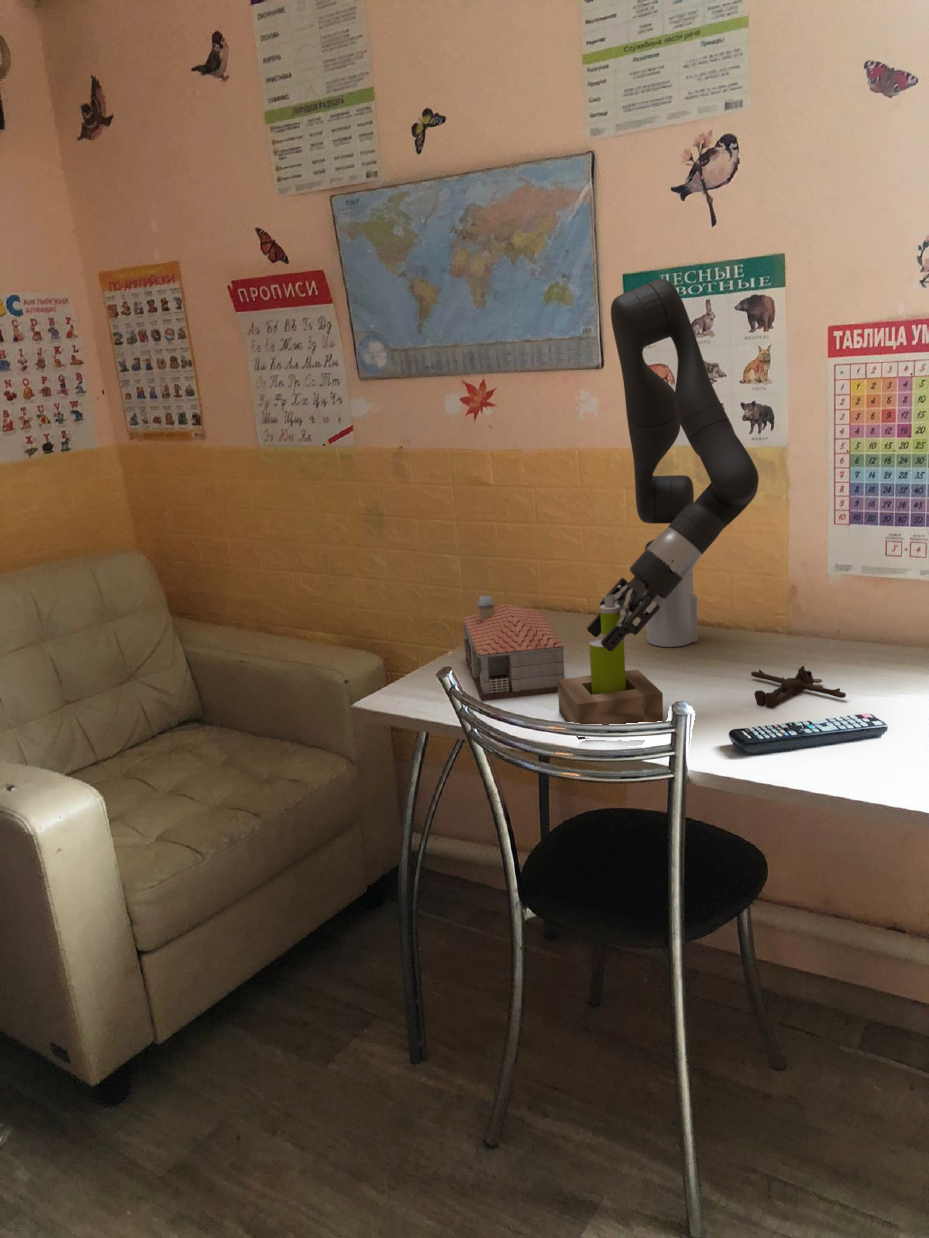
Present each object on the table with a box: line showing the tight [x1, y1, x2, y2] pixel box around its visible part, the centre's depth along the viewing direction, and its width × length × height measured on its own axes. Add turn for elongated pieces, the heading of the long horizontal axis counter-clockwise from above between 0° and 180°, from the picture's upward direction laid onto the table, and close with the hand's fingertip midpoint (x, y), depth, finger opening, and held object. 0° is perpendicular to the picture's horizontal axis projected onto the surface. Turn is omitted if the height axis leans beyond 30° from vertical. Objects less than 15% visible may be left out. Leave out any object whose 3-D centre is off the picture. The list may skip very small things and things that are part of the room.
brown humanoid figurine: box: [750, 665, 847, 709], centre depth 175 cm, size 18×4×14 cm
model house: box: [462, 595, 566, 702], centre depth 192 cm, size 24×16×15 cm, turn 7°
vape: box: [589, 593, 626, 695], centre depth 167 cm, size 4×6×20 cm, turn 126°
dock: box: [557, 669, 664, 741], centre depth 169 cm, size 14×12×6 cm
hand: (598, 640), depth 166 cm, fingers open, 7 cm apart
